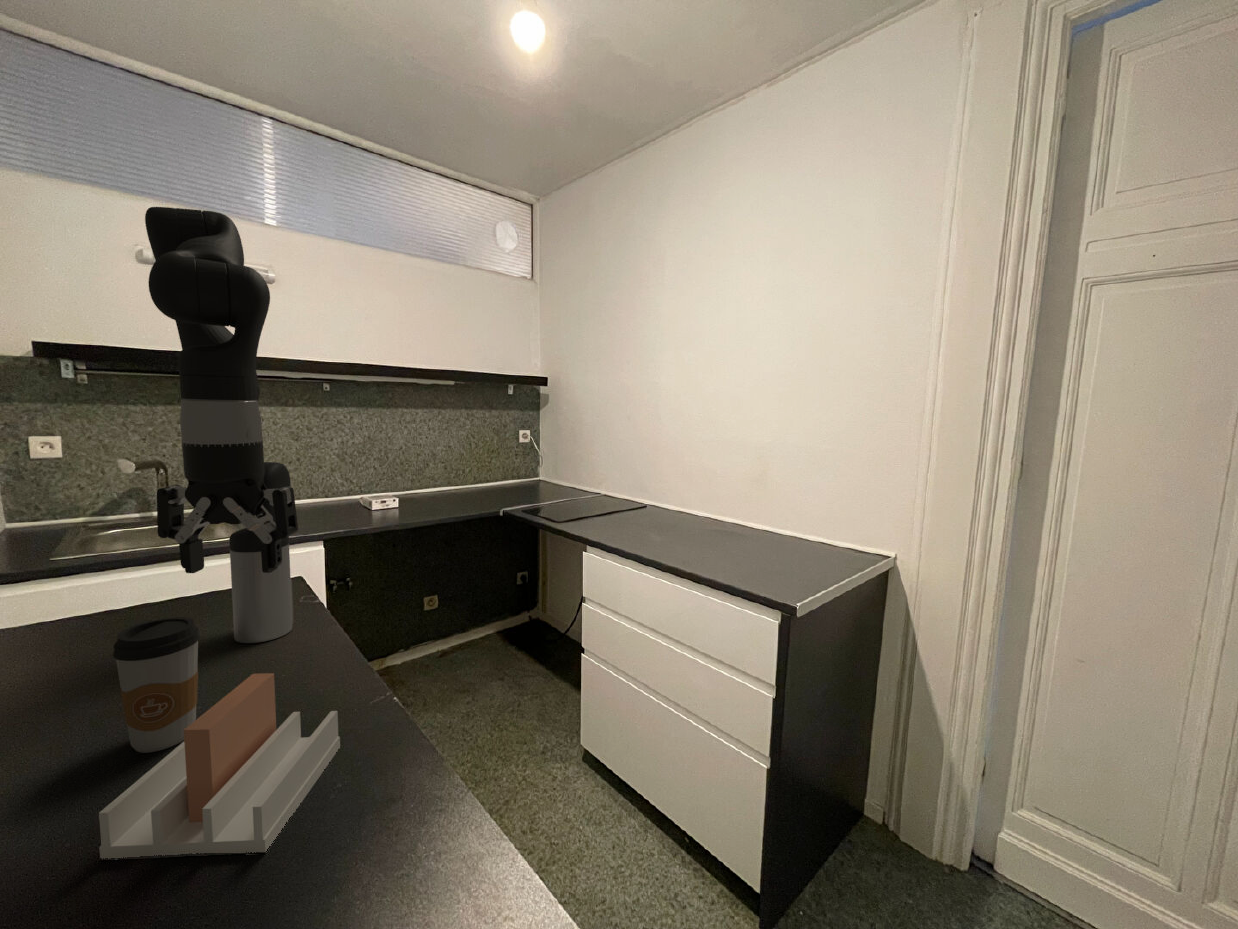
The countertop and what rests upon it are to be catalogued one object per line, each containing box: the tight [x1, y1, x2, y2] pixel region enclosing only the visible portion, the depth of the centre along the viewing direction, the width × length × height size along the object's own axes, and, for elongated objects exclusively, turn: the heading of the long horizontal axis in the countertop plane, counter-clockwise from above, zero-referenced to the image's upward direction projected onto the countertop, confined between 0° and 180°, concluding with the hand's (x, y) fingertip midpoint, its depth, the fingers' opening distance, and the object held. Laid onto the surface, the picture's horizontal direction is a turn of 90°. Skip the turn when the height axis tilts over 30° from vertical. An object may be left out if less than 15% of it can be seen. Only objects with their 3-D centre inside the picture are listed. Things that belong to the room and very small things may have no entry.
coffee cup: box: [112, 616, 201, 754], centre depth 66 cm, size 8×8×15 cm
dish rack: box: [98, 710, 341, 859], centre depth 57 cm, size 16×15×5 cm
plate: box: [183, 672, 277, 822], centre depth 57 cm, size 11×2×10 cm, turn 5°
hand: (233, 571), depth 62 cm, fingers open, 8 cm apart
